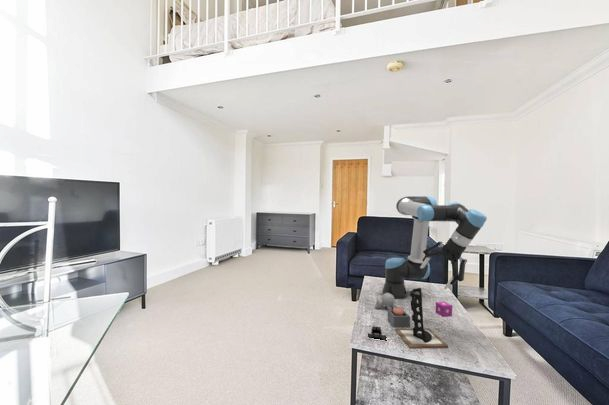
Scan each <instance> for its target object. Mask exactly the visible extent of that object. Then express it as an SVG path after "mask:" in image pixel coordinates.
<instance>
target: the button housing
mask: <svg viewBox="0 0 609 405" xmlns="http://www.w3.org/2000/svg"><path fill="white" fill-rule="evenodd" d="M387 321H388V322H389V324H390V325H391V326H392V327H393V328H411V316H410V315H409V314H408V313H407V312H406V311H405V310H404V316H395V315H394V314H393V309H392V310H388V309H387Z"/></svg>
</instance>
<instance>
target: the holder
mask: <svg viewBox="0 0 609 405" xmlns="http://www.w3.org/2000/svg"><path fill="white" fill-rule="evenodd" d="M417 293H418V294H417ZM409 297H411V299H410V309H411V311H412V315H411V321H412V322H413V325H414V326H413V327H412V329H413V336H415V337H417V338H419V339H421V340H423V341H424V342H425V343H427V342H429V341H430V340H431V339H432V335H431V334H430V333H429V332H427V331H425V330H424V328H425V326H424V314H423V313H424V312H423V294H422V288H421V287H417V288H413V289H411V290H410V294H409ZM417 309H418V310H417ZM419 324H420V326H419ZM418 331H421V332H422V333H417V332H418ZM425 338H426V339H425Z"/></svg>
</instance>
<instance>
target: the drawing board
mask: <svg viewBox="0 0 609 405" xmlns="http://www.w3.org/2000/svg"><path fill="white" fill-rule="evenodd" d="M424 330H425V331H427V332H429V333H430V334H431V335H432V339H431V340H430V341H429V342H427V343H425V342H424V341H423V340H421V339H419V338H417V337H415V336H413V328H395V332H396V333H397V335H398V336H399V337H400V338H401V340H403V342H404V344H405V345H406V346H407V347H408V348H409V349H448V348H449V345H448V344H447V342H444V341H443V340H442V338H440V337H439V336H438V335H437V334H436V333H435V332H433V330H431V329H430V328H426V327H424ZM417 333H422V332H421V331H418V332H417ZM425 339H426V338H425Z"/></svg>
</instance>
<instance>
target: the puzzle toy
mask: <svg viewBox="0 0 609 405" xmlns="http://www.w3.org/2000/svg"><path fill="white" fill-rule="evenodd" d="M435 313H436V314H437V315H439V316H441V317H442V318H443V317H453V305H452V304H450V303H449V302H446V301H436V302H435Z"/></svg>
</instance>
